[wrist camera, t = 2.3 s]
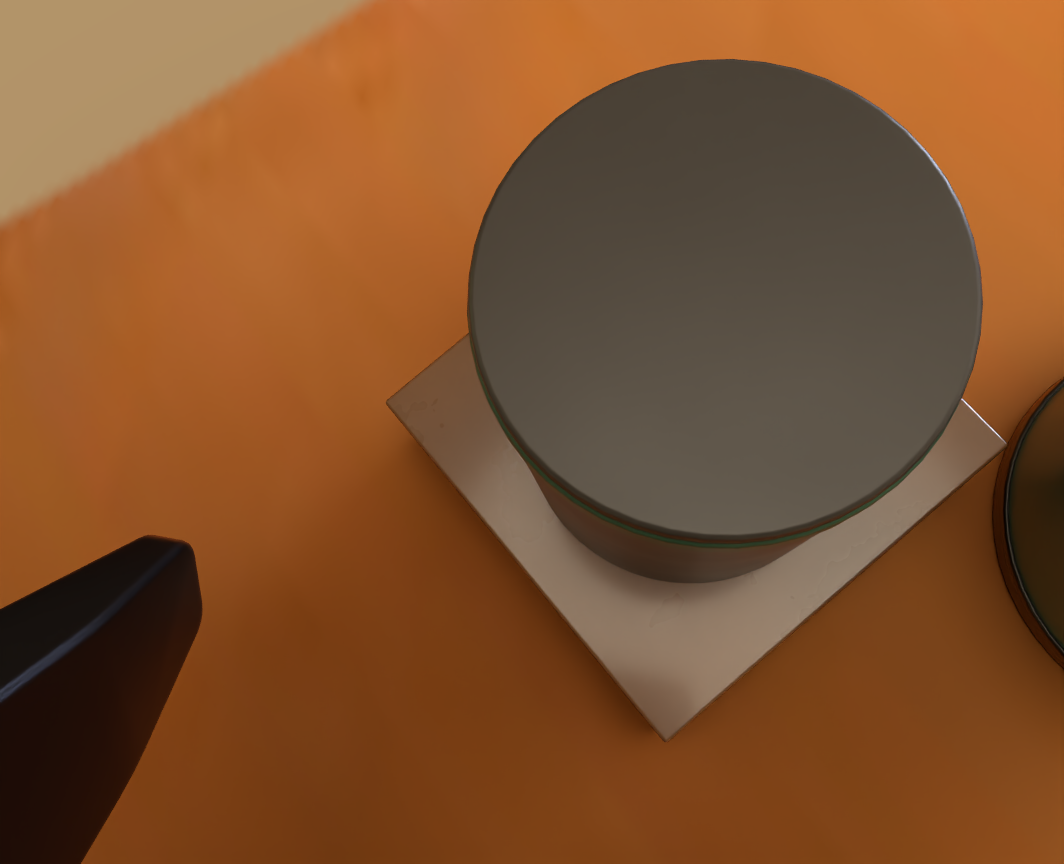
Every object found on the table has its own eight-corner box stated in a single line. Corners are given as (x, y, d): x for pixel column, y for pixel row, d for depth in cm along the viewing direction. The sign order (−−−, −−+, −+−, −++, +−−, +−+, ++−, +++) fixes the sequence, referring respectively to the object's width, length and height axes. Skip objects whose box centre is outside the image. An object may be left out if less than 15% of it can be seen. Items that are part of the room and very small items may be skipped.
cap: (671, 656, 19) (697, 660, 11) (460, 406, 20) (362, 266, 13) (924, 438, 19) (1107, 307, 12) (699, 208, 20) (738, -38, 13)
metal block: (661, 731, 21) (665, 744, 18) (415, 432, 23) (383, 401, 20) (959, 472, 22) (1010, 444, 19) (695, 201, 24) (704, 138, 21)
